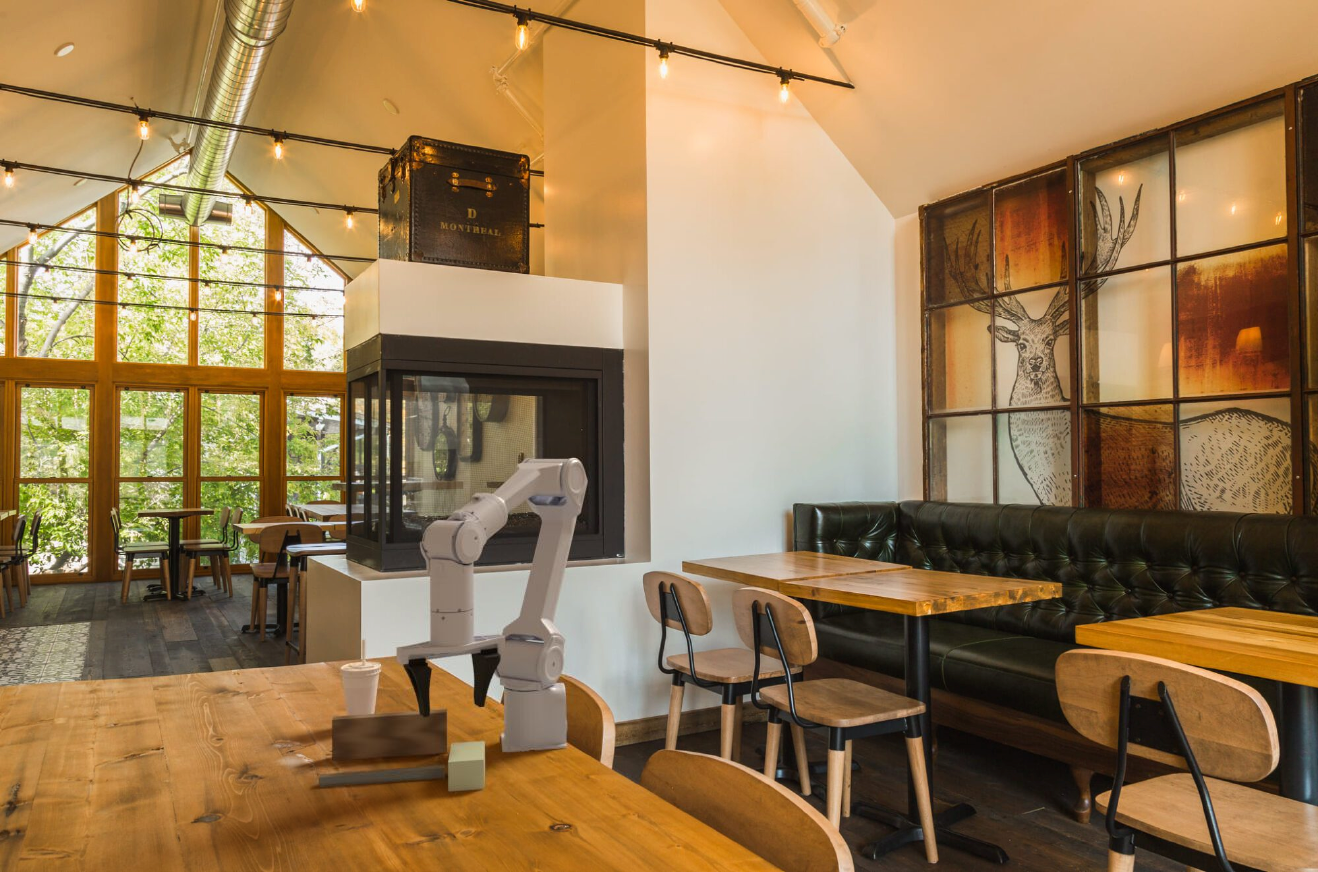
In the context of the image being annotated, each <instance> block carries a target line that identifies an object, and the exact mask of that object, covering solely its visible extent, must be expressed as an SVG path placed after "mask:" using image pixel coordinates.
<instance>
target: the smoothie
mask: <svg viewBox="0 0 1318 872" xmlns="http://www.w3.org/2000/svg"><path fill="white" fill-rule="evenodd" d="M366 644H367V642H366V638H362V639H361V661H357V662H350V663H347V664H346V663H345V664H344V665H342V666H340V668H339V671H340V672H339V675H340V676H341V677H342V678H341V679H342V687H343V694H344V701H345V708H346V709H345V710H346V716H349V715H364V714H375V710H376V709H375V708H376V701H377V692H378V685H379V675H380V673H381V672H382V664H381V663H380V662H377V661H367V660H366V659H367V658H366V657H367V656H366V655H367V653H366V647H367V646H366Z"/></svg>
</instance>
